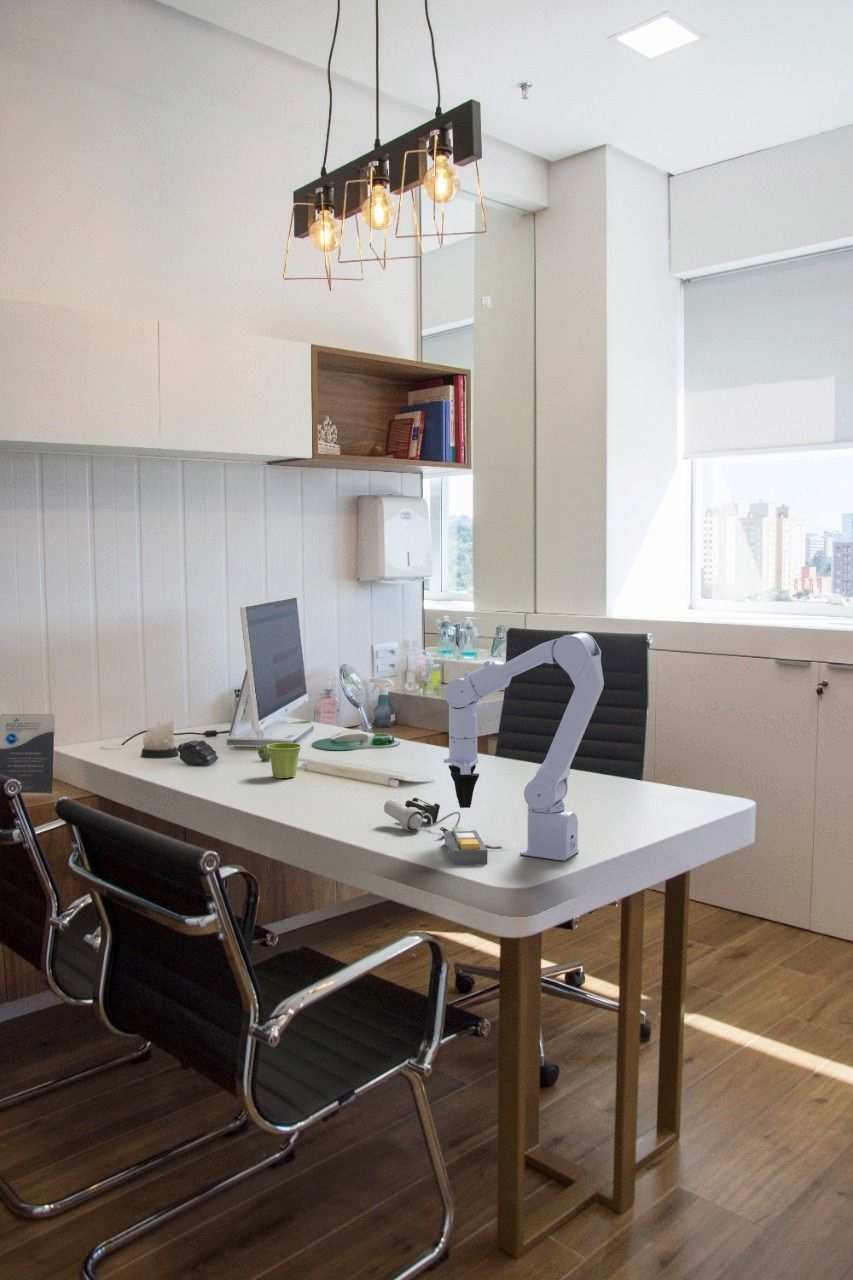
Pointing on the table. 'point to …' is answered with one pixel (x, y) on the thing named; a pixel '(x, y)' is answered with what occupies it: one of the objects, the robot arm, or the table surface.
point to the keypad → (465, 855)
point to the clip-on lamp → (415, 813)
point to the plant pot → (284, 759)
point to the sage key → (461, 830)
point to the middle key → (464, 836)
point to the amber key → (468, 844)
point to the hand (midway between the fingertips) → (463, 803)
